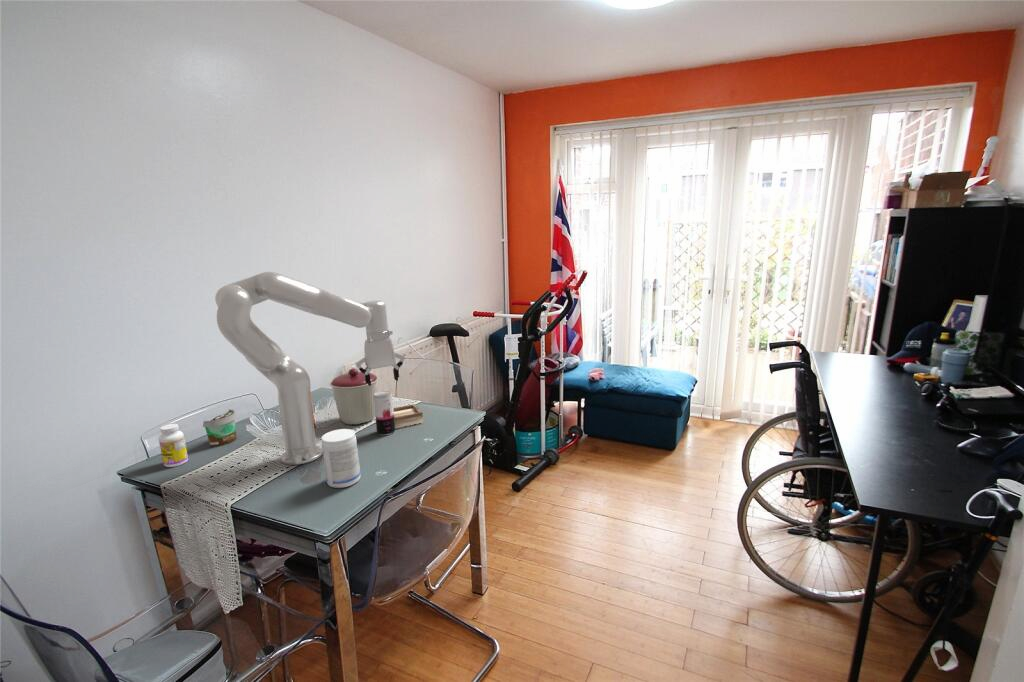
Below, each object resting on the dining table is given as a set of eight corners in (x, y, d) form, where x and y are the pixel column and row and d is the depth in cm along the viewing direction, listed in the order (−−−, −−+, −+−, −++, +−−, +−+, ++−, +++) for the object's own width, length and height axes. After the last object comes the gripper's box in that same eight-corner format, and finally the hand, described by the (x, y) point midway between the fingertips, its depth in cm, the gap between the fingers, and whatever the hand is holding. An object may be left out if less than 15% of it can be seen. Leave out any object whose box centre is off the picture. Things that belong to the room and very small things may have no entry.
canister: (386, 410, 196) (381, 361, 192) (376, 427, 179) (371, 374, 174) (341, 412, 195) (336, 363, 191) (328, 430, 178) (321, 376, 173)
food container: (222, 449, 164) (217, 422, 161) (207, 448, 165) (202, 421, 163) (248, 435, 175) (244, 409, 173) (233, 434, 177) (229, 408, 174)
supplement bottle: (159, 466, 153) (151, 429, 150) (179, 457, 159) (172, 421, 156) (173, 469, 150) (165, 431, 147) (193, 459, 156) (186, 423, 154)
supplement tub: (367, 476, 142) (363, 431, 139) (344, 492, 134) (339, 444, 131) (343, 470, 146) (338, 426, 143) (319, 485, 138) (313, 438, 135)
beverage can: (392, 435, 171) (389, 396, 168) (374, 435, 171) (370, 396, 168) (397, 428, 178) (394, 390, 174) (380, 428, 178) (376, 390, 175)
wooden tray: (423, 423, 182) (422, 412, 181) (394, 428, 177) (393, 418, 176) (415, 413, 192) (414, 404, 191) (388, 419, 187) (387, 409, 186)
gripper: (399, 331, 174) (403, 375, 178) (350, 337, 166) (356, 383, 170) (404, 334, 167) (409, 380, 171) (354, 341, 160) (360, 389, 164)
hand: (382, 382), depth 171 cm, fingers open, 9 cm apart
